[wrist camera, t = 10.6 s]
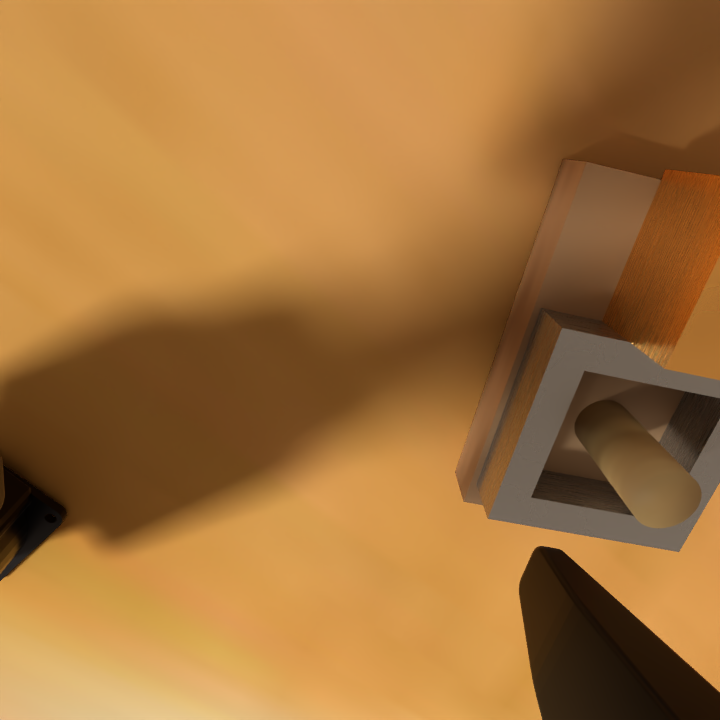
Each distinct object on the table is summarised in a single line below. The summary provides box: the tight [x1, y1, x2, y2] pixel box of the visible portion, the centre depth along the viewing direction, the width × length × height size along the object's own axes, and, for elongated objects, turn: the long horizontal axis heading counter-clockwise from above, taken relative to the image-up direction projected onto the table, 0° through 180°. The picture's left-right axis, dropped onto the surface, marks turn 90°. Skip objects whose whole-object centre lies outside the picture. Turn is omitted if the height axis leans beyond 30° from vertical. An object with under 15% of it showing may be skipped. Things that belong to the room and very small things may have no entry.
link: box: [476, 169, 720, 552], centre depth 17 cm, size 12×7×4 cm, turn 168°
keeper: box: [455, 159, 702, 528], centre depth 18 cm, size 13×8×6 cm, turn 168°
